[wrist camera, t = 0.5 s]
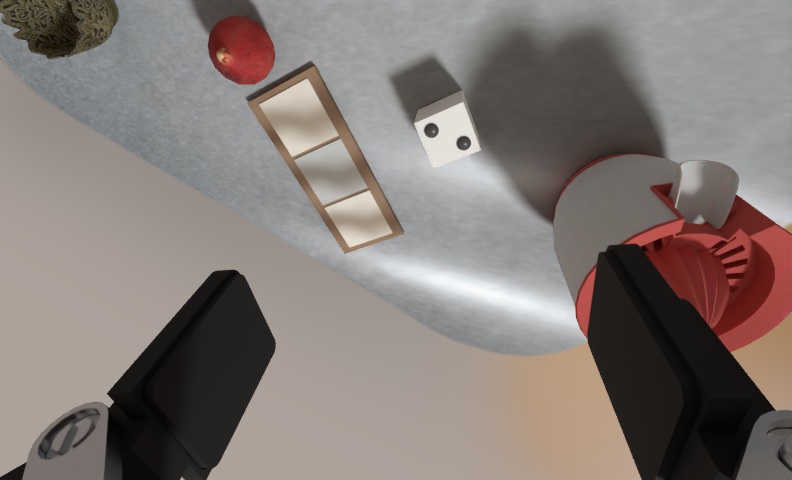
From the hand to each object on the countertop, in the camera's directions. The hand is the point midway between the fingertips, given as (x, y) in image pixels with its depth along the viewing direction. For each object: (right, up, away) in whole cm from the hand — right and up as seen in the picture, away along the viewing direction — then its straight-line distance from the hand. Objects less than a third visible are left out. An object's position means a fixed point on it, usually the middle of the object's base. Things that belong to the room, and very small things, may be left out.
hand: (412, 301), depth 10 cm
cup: (-31, +26, +29) cm, 49 cm away
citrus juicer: (+24, +7, +33) cm, 41 cm away
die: (+5, +14, +30) cm, 34 cm away
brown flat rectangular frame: (-8, +10, +36) cm, 38 cm away
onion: (-15, +22, +29) cm, 39 cm away
